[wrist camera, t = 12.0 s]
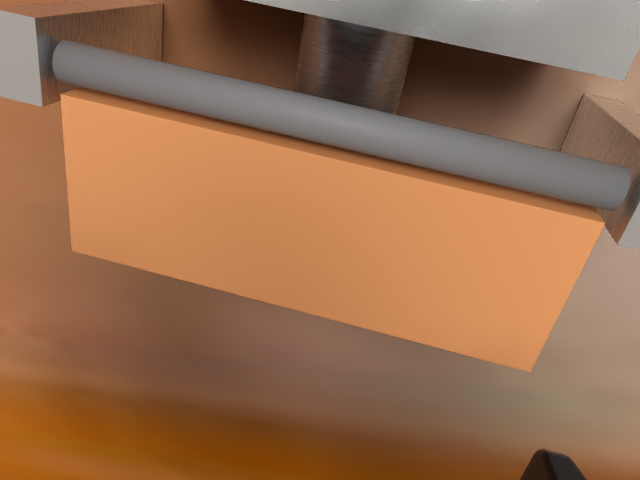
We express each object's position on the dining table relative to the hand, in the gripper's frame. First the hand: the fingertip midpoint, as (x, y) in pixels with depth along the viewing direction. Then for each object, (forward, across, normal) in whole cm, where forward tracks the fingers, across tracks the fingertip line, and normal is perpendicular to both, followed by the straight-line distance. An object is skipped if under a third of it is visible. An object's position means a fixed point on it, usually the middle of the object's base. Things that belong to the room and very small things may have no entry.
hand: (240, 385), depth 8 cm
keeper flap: (+5, 0, -1) cm, 5 cm away
